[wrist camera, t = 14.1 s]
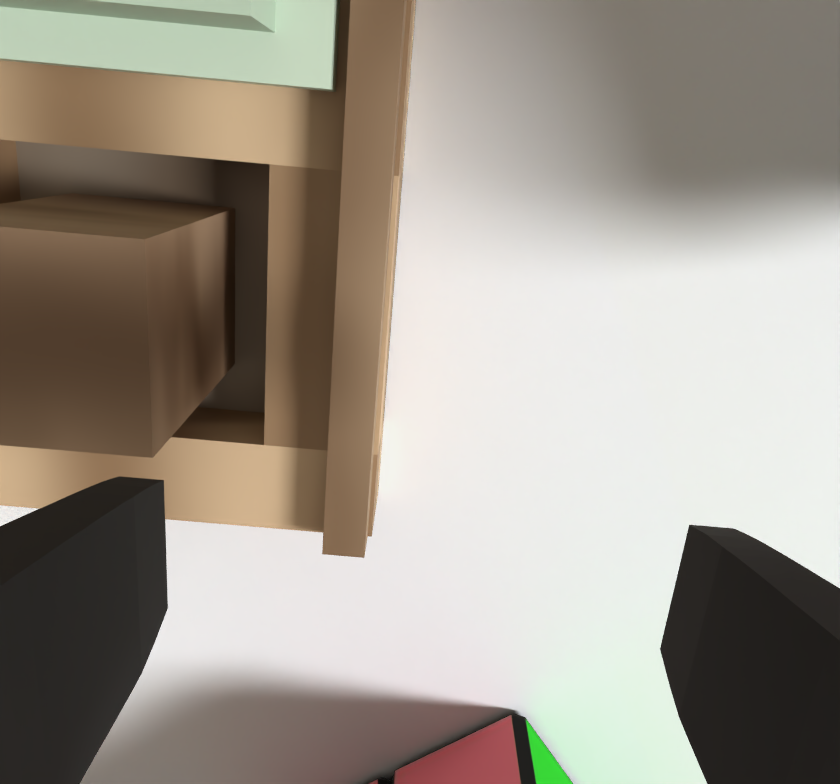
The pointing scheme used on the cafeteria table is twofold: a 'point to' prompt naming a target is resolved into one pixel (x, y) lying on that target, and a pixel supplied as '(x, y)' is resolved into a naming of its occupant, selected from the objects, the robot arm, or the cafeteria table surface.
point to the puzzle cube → (487, 759)
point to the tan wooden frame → (247, 268)
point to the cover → (180, 38)
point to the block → (111, 319)
